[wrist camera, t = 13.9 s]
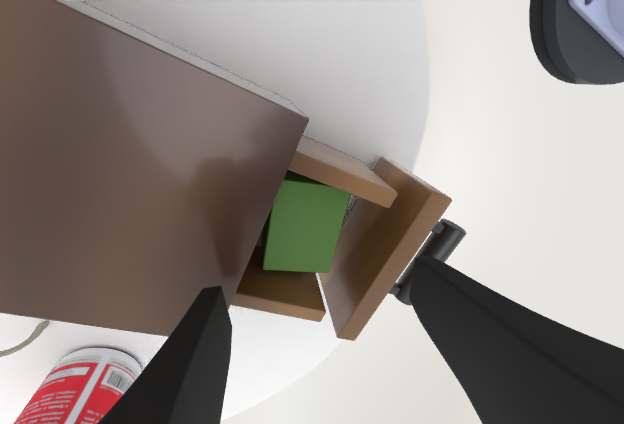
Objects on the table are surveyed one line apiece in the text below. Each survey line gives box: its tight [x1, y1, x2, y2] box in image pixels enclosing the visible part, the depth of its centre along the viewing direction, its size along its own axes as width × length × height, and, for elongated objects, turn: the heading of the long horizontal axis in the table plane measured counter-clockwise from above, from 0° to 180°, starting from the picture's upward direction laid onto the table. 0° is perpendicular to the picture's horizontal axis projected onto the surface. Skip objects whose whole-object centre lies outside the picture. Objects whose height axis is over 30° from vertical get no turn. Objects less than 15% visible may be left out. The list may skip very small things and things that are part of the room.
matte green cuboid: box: [262, 170, 351, 273], centre depth 14 cm, size 5×4×3 cm
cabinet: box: [0, 0, 309, 337], centre depth 12 cm, size 13×11×8 cm
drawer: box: [230, 135, 466, 341], centre depth 15 cm, size 16×9×6 cm, turn 65°
